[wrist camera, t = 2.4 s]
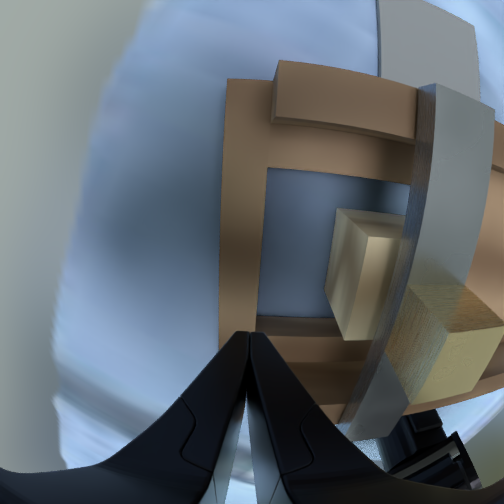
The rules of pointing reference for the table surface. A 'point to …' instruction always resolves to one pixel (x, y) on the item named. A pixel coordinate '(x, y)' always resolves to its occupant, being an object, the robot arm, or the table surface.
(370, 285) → the beech block
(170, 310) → the table surface
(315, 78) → the puzzle board
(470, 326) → the latch bar
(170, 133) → the table surface
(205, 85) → the table surface
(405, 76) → the slate mat
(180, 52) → the table surface
